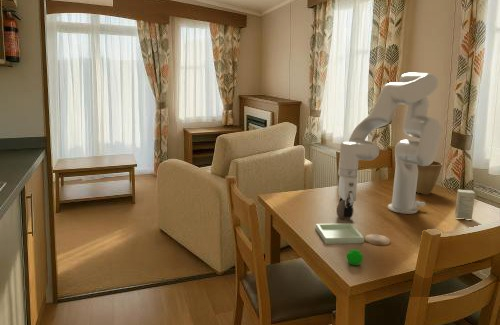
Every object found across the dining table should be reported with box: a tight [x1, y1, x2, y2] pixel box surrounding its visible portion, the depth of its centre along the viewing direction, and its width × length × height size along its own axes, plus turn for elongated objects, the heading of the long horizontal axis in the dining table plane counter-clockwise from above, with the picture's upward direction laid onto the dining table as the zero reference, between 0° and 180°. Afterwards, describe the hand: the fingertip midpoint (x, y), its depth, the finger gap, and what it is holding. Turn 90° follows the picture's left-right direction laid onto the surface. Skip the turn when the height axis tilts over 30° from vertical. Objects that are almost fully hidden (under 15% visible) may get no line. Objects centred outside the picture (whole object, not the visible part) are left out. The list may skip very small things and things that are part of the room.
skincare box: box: [454, 189, 476, 220], centre depth 174 cm, size 6×4×12 cm
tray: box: [315, 222, 365, 245], centre depth 154 cm, size 14×14×2 cm
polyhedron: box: [346, 248, 364, 266], centre depth 131 cm, size 5×5×5 cm
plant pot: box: [416, 160, 443, 195], centre depth 211 cm, size 15×15×16 cm
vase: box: [336, 199, 355, 221], centre depth 172 cm, size 7×7×9 cm
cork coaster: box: [364, 233, 391, 247], centre depth 151 cm, size 9×9×1 cm
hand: (344, 213), depth 172 cm, fingers closed on vase, 6 cm apart
